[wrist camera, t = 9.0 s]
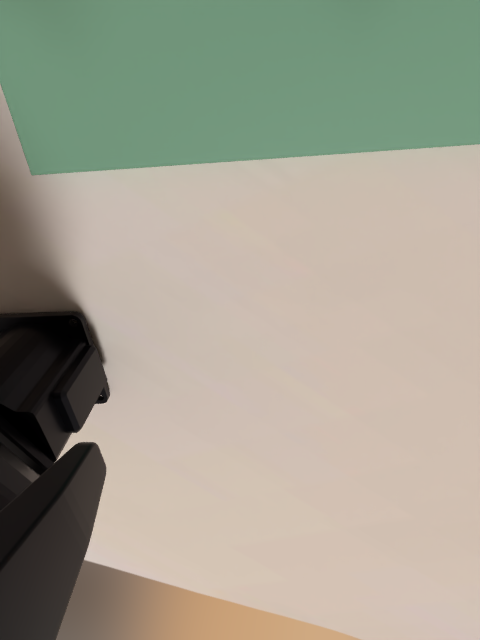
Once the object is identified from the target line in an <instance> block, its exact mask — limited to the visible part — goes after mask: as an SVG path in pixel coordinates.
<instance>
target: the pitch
mask: <svg viewBox="0 0 480 640" xmlns="http://www.w3.org/2000/svg"><path fill="white" fill-rule="evenodd" d="M0 84H1V87H2V90H3V92H4V95H5V98H6V101H7V104H8V107H9V110H10V113H11V116H12V119H13V122H14V125H15V128H16V131H17V133H18V136H19V139H20V142H21V145H22V148H23V151H24V154H25V157H26V160H27V163H28V166H29V169H30V172H31V174H32V175H43V174H57V173H72V172H86V171H100V170H115V169H129V168H144V167H158V166H172V165H187V164H201V163H216V162H230V161H244V160H259V159H273V158H288V157H302V156H316V155H331V154H345V153H360V152H374V151H388V150H403V149H417V148H432V147H446V146H460V145H475V144H480V0H0Z"/></svg>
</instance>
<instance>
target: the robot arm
mask: <svg viewBox="0 0 480 640" xmlns="http://www.w3.org/2000/svg"><path fill="white" fill-rule="evenodd" d="M72 319H74V320H76V321H77V322H78V323H75V322H73V320H72ZM106 382H107V378H106V375H105V372H104V369H103V366H102V363H101V360H100V357H99V354H98V351H97V348H96V347H95V346H94V344H93V341H92V338H91V335H90V332H89V329H88V327H87V324H86V321H85V318H84V316H83V315H82V314H81V313H78V312H74V311H72V312H45V313H18V314H0V640H56V638H57V635H58V632H59V629H60V626H61V623H62V620H63V617H64V615H65V612H66V609H67V606H68V603H69V600H70V598H71V595H72V592H73V589H74V586H75V583H76V580H77V577H78V575H79V572H80V569H81V566H82V563H83V560H84V557H85V555H86V551H87V548H88V545H89V542H90V538H91V534H92V531H93V526H94V522H95V518H96V514H97V510H98V506H99V501H100V497H101V493H102V489H103V485H104V481H105V476H106V465H105V462H104V459H103V457H102V454H101V452H100V449H99V447H98V445H97V444H96V443H94V442H81V443H78V444H76V445H74V446H73V447H72V448H71V449H70V450H69V451H68V452H66V453H65V454H64V455H63V456H62V457H61V458H60V459H59V460H57V459H58V457H59V455H60V453H61V451H62V450H63V448H64V446H65V444H66V442H67V441H68V439H69V437H70V435H71V434H72V433H77V432H79V431H80V429H81V428H82V427H83V425H84V423H85V421H86V419H87V417H88V415H89V414H90V412H91V410H92V408H93V406H94V404H102V403H106V402H107V400H108V398H109V396H110V392H109V389H108V386H107V383H106ZM100 395H102V396H100ZM56 460H57V461H56ZM55 461H56V462H55ZM54 462H55V463H54Z"/></svg>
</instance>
